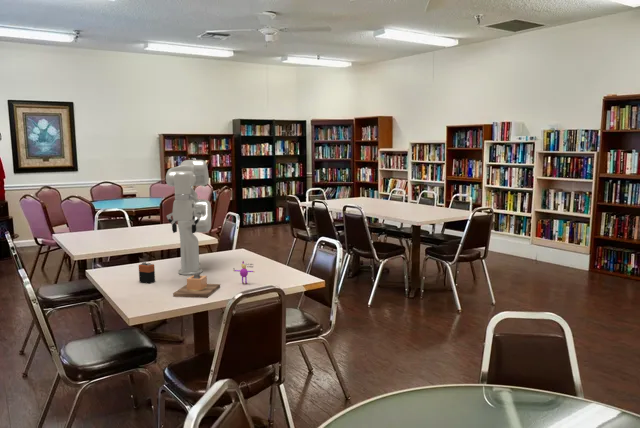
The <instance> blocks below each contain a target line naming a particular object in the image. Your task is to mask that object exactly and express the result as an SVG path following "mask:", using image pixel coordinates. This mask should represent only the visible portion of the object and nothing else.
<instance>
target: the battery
mask: <svg viewBox="0 0 640 428" xmlns="http://www.w3.org/2000/svg"><path fill="white" fill-rule="evenodd" d="M155 272H156V271H155V264H154V263H152V262H151V263H150V262H148V263H147V262H146V261H143V262H141V264H138V277H139V278H138V280H139V283H142V284H149V285H150V284H152V283H156V276H155V275H156V273H155Z"/></svg>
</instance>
